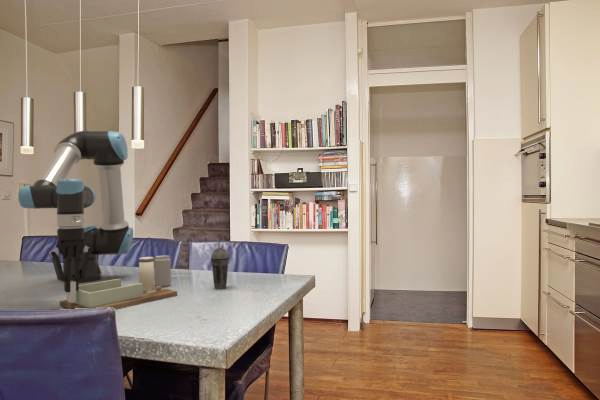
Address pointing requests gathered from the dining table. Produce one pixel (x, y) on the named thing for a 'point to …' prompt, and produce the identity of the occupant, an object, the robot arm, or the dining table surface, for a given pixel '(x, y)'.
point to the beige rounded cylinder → (146, 273)
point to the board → (147, 297)
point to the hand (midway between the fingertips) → (71, 301)
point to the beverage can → (162, 271)
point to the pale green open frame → (106, 293)
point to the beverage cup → (220, 267)
